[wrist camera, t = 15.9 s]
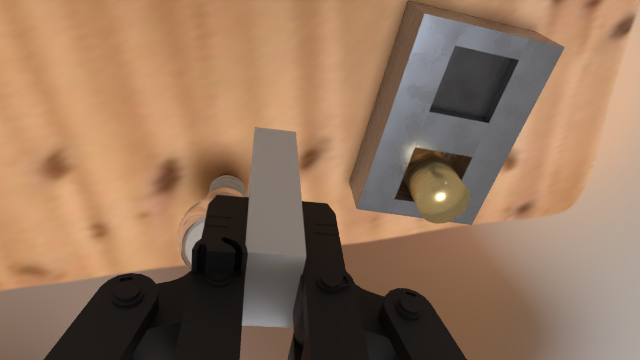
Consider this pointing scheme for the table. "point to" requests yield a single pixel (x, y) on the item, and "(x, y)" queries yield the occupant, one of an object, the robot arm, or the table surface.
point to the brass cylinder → (435, 186)
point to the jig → (450, 104)
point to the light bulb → (203, 215)
